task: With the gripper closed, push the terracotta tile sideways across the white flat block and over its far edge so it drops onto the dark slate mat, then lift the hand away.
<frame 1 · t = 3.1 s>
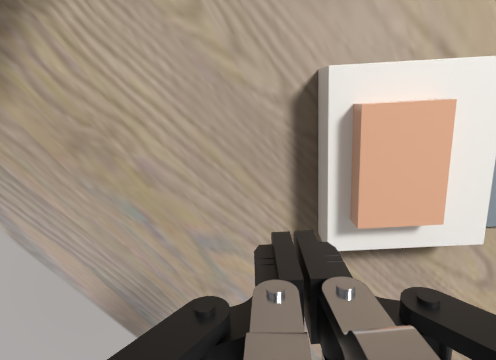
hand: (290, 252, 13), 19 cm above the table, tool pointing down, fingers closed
white flat block: (391, 152, 31), on the table
terracotta tile: (393, 162, 27), point 4 cm above the table, touching white flat block
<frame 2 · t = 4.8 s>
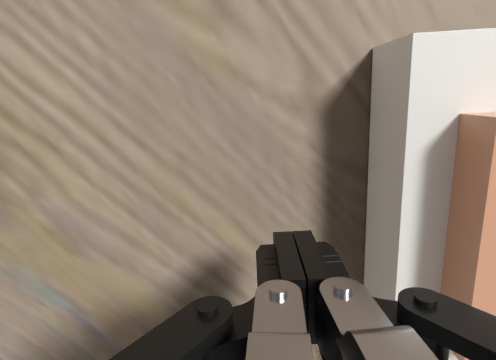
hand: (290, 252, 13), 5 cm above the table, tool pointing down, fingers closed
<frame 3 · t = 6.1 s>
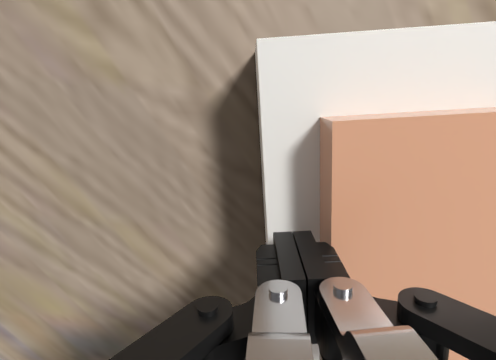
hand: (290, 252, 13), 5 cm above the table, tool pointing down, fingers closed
white flat block: (391, 198, 18), on the table
terracotta tile: (401, 230, 14), point 4 cm above the table, touching white flat block, gripper
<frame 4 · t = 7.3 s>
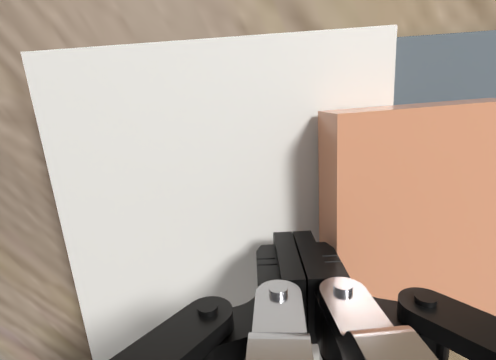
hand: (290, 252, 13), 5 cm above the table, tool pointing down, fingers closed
white flat block: (230, 205, 18), on the table
terracotta tile: (398, 223, 14), point 4 cm above the table, tilted 6°, touching white flat block
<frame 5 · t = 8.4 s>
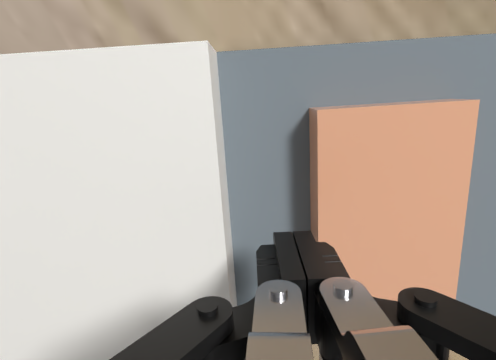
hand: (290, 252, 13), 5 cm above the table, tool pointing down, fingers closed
slate mat: (375, 198, 18), on the table
white flat block: (104, 214, 18), on the table
terracotta tile: (392, 212, 15), point 2 cm above the table, tilted 180°, touching slate mat
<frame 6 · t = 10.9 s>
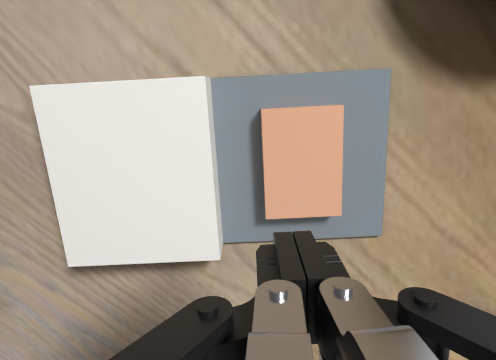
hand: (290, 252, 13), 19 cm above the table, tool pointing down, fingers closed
slate mat: (300, 160, 31), on the table
white flat block: (145, 168, 32), on the table
terracotta tile: (303, 164, 29), point 2 cm above the table, tilted 180°, touching slate mat
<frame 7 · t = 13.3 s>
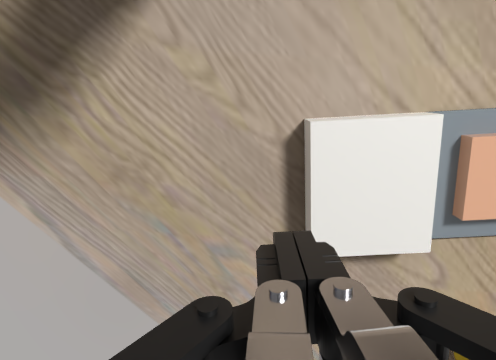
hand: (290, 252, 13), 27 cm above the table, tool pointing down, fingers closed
slate mat: (484, 174, 40), on the table
white flat block: (361, 181, 40), on the table
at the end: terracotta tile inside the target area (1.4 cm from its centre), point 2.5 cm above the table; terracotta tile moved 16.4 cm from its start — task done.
